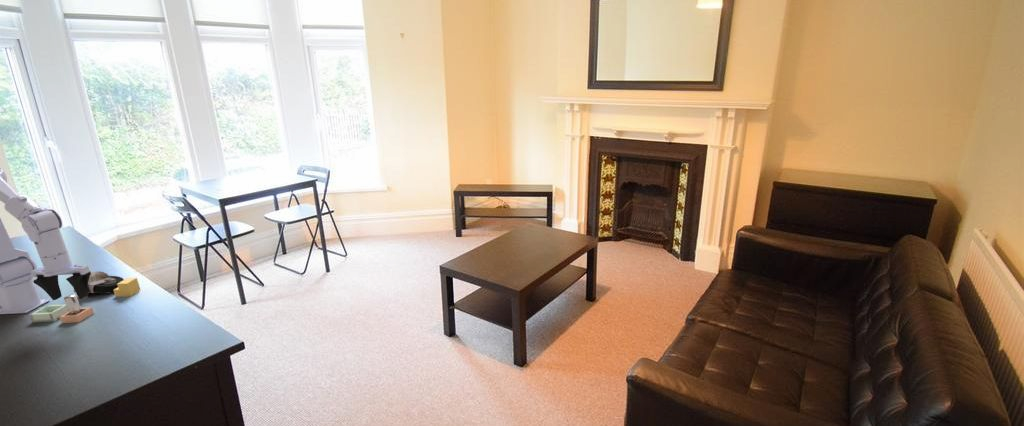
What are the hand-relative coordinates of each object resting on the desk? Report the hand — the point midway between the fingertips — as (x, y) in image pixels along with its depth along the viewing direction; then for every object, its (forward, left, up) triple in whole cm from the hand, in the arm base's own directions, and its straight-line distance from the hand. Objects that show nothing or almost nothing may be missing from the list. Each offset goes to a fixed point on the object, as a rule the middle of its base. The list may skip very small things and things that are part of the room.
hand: (70, 297), depth 135 cm
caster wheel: (-7, +18, -7) cm, 21 cm away
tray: (-9, +2, -7) cm, 11 cm away
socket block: (0, 0, -7) cm, 7 cm away
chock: (+3, +15, -7) cm, 17 cm away
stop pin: (0, 0, -7) cm, 7 cm away
